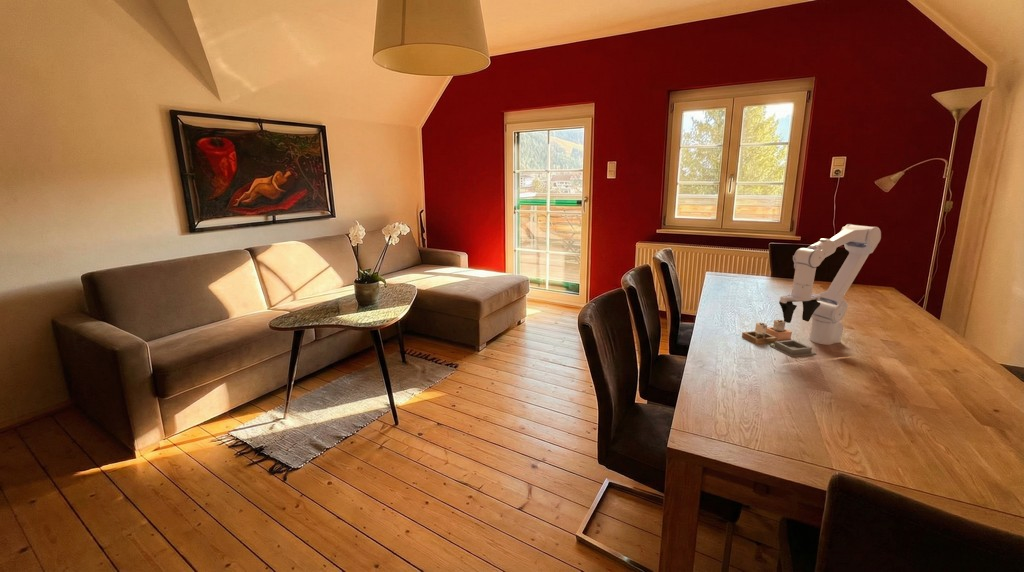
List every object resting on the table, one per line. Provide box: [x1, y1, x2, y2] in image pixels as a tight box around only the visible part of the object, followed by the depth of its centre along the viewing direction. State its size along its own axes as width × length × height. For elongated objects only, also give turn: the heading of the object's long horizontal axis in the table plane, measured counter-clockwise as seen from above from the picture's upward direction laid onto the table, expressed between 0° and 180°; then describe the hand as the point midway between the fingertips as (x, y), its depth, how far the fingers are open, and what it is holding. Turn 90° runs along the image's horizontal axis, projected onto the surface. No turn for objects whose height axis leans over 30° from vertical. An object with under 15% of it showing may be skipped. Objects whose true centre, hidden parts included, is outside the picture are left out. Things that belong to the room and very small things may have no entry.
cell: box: [754, 322, 768, 339], centre depth 158 cm, size 4×4×6 cm
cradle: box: [769, 339, 817, 358], centre depth 150 cm, size 10×10×3 cm
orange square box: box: [766, 326, 793, 341], centre depth 162 cm, size 6×6×3 cm
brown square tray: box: [741, 330, 778, 345], centre depth 159 cm, size 8×8×2 cm
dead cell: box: [772, 319, 787, 332], centre depth 161 cm, size 4×4×6 cm
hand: (796, 321), depth 151 cm, fingers open, 7 cm apart
